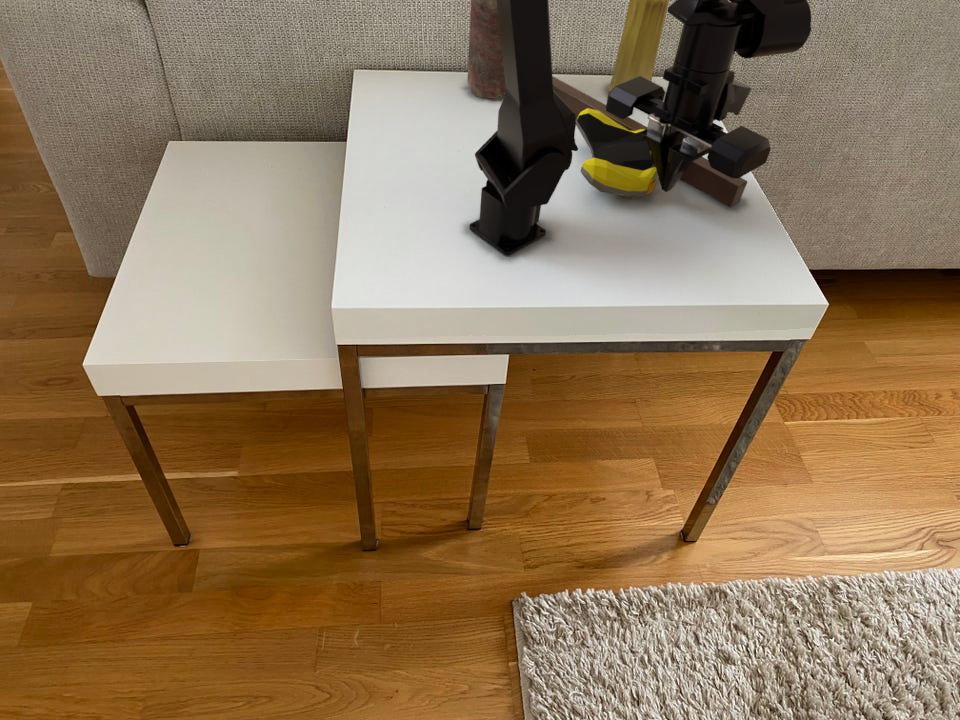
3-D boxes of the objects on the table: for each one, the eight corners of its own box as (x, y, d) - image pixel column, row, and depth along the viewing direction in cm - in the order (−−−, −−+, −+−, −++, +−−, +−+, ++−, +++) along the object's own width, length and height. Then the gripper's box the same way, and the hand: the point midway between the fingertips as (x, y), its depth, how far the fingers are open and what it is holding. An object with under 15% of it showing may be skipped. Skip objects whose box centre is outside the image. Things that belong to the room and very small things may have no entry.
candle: (464, 75, 106) (470, -74, 91) (512, 76, 107) (526, -73, 92) (469, 100, 101) (476, -54, 86) (519, 100, 102) (535, -53, 87)
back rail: (730, 207, 86) (738, 186, 84) (536, 97, 103) (539, 77, 101) (739, 201, 87) (747, 181, 85) (546, 93, 104) (549, 74, 102)
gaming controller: (576, 206, 85) (658, 212, 85) (584, 166, 81) (670, 172, 81) (570, 141, 95) (644, 146, 95) (577, 102, 91) (654, 108, 91)
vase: (625, 79, 108) (647, -20, 98) (657, 95, 106) (683, -6, 95) (599, 90, 105) (619, -11, 95) (631, 107, 103) (655, 4, 92)
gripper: (823, 74, 72) (770, 202, 84) (679, 14, 82) (649, 137, 93) (762, 105, 67) (714, 237, 79) (615, 37, 76) (592, 164, 88)
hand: (666, 190), depth 85 cm, fingers closed
